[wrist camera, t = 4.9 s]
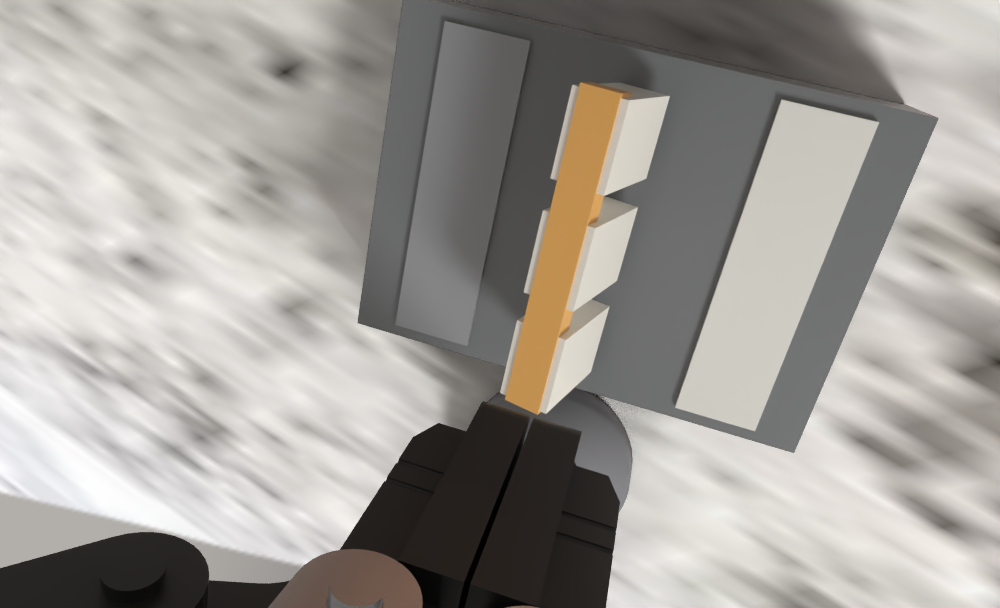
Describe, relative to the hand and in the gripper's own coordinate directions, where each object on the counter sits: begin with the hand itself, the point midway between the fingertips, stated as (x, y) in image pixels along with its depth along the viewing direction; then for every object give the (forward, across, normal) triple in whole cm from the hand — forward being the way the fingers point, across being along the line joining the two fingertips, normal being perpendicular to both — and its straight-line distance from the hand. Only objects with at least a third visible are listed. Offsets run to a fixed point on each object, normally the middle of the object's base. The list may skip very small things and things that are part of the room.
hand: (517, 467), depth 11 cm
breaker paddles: (+12, 0, 0) cm, 12 cm away
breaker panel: (+14, 0, 0) cm, 15 cm away
